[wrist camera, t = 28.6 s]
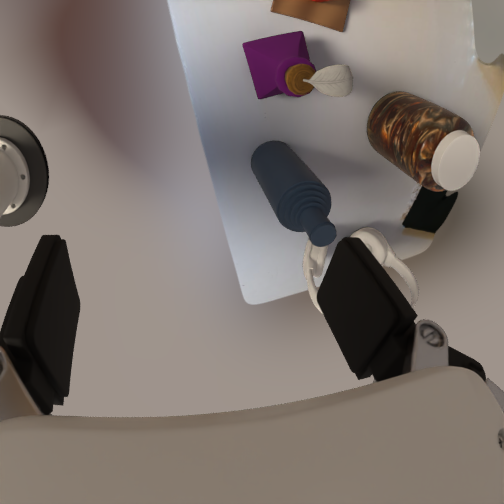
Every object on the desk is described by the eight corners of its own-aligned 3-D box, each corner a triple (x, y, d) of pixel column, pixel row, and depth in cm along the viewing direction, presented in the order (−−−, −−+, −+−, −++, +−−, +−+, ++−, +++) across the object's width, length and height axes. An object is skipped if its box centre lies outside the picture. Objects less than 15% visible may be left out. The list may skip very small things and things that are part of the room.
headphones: (289, 226, 51) (338, 319, 36) (381, 218, 55) (443, 293, 39) (285, 259, 56) (326, 351, 41) (371, 248, 59) (425, 323, 44)
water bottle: (247, 179, 44) (285, 262, 30) (255, 137, 40) (303, 204, 26) (288, 183, 46) (340, 262, 32) (298, 143, 42) (362, 210, 28)
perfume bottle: (252, 95, 36) (301, 135, 23) (237, 43, 32) (280, 45, 18) (305, 81, 36) (381, 116, 23) (293, 30, 32) (370, 32, 18)
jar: (401, 167, 48) (456, 213, 37) (354, 138, 43) (413, 183, 32) (432, 112, 42) (496, 148, 31) (389, 76, 37) (460, 103, 26)
